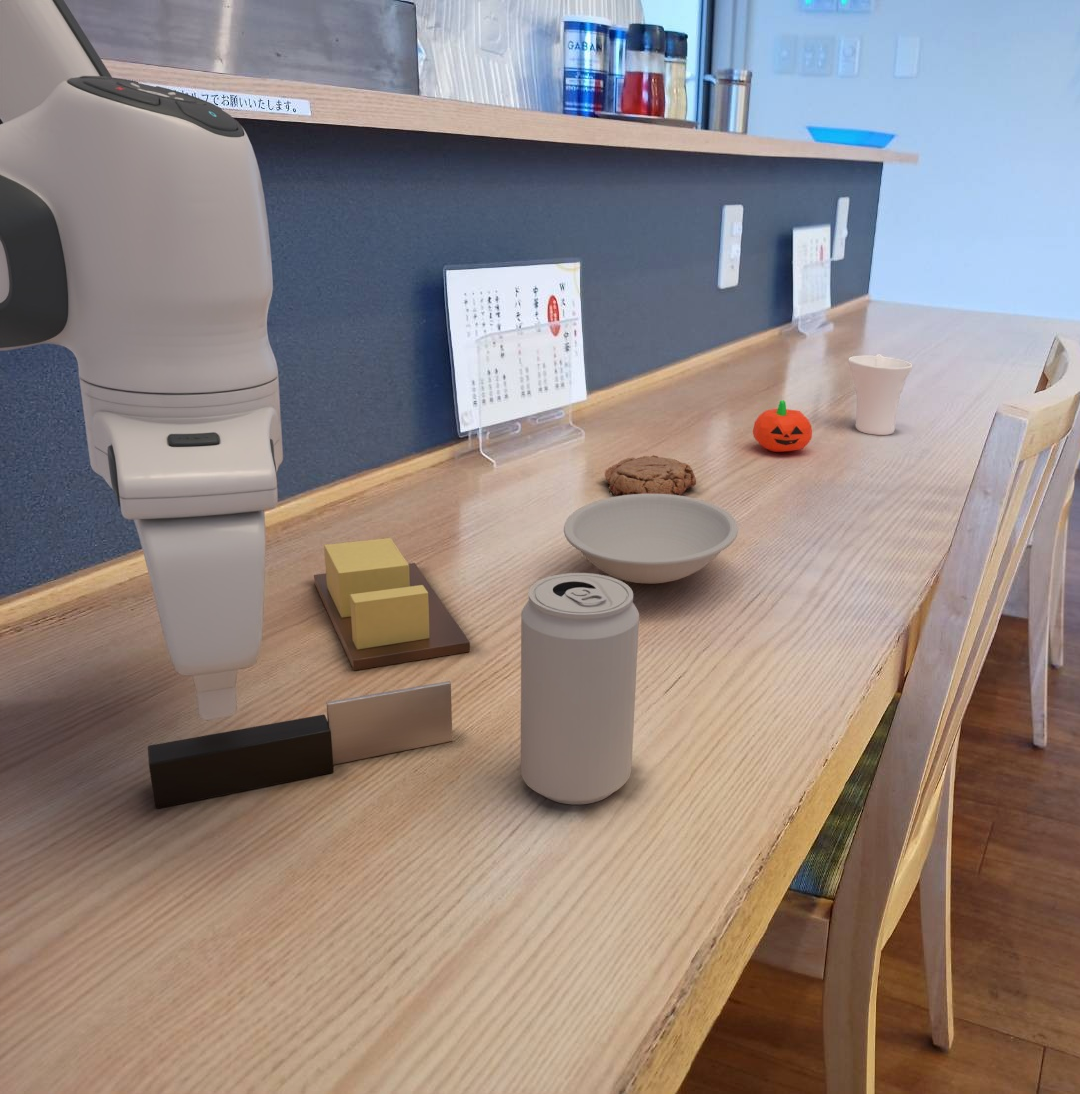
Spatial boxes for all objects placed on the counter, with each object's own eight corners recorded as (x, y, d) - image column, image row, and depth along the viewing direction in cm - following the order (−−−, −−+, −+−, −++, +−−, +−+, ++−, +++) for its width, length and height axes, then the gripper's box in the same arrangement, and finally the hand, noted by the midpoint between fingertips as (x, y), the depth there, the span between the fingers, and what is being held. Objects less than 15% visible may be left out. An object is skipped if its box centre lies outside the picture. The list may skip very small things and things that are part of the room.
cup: (903, 425, 150) (912, 356, 147) (904, 441, 141) (914, 368, 138) (842, 418, 151) (849, 350, 148) (839, 434, 142) (847, 361, 139)
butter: (341, 618, 76) (338, 572, 75) (326, 587, 81) (324, 544, 80) (410, 608, 79) (409, 564, 77) (392, 579, 83) (390, 537, 82)
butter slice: (356, 650, 72) (354, 602, 70) (352, 641, 73) (349, 594, 72) (429, 638, 74) (428, 592, 73) (424, 630, 75) (422, 584, 74)
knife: (155, 809, 55) (145, 744, 54) (153, 789, 57) (144, 725, 55) (456, 748, 63) (454, 689, 61) (447, 731, 64) (445, 674, 63)
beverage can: (592, 739, 65) (598, 560, 60) (652, 788, 60) (663, 599, 56) (500, 770, 61) (499, 581, 57) (557, 825, 56) (560, 625, 52)
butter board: (353, 670, 71) (353, 660, 70) (314, 583, 83) (313, 574, 83) (470, 651, 74) (470, 641, 74) (415, 571, 87) (415, 562, 87)
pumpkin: (822, 452, 133) (827, 402, 131) (781, 461, 127) (786, 410, 125) (779, 439, 137) (784, 391, 135) (738, 448, 132) (742, 398, 130)
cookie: (609, 504, 107) (610, 476, 106) (601, 473, 117) (602, 448, 116) (704, 505, 109) (706, 477, 108) (688, 475, 119) (689, 449, 118)
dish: (705, 633, 80) (709, 573, 78) (530, 604, 83) (531, 545, 81) (752, 557, 96) (756, 506, 94) (605, 534, 99) (606, 484, 97)
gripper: (113, 384, 60) (139, 603, 64) (118, 497, 43) (152, 779, 48) (234, 382, 63) (250, 592, 68) (282, 487, 46) (297, 753, 51)
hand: (209, 671), depth 58 cm, fingers open, 8 cm apart
